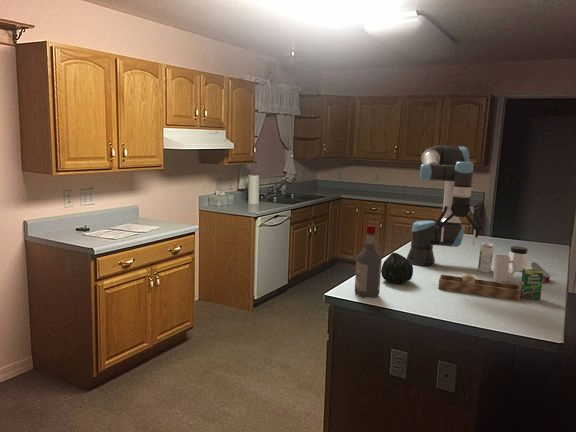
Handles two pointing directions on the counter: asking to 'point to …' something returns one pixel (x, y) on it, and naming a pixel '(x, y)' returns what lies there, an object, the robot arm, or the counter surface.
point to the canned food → (545, 274)
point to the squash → (397, 269)
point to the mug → (502, 267)
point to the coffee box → (531, 284)
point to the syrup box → (485, 257)
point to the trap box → (481, 287)
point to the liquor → (368, 267)
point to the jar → (518, 257)
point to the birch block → (468, 278)
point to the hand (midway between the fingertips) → (457, 243)
